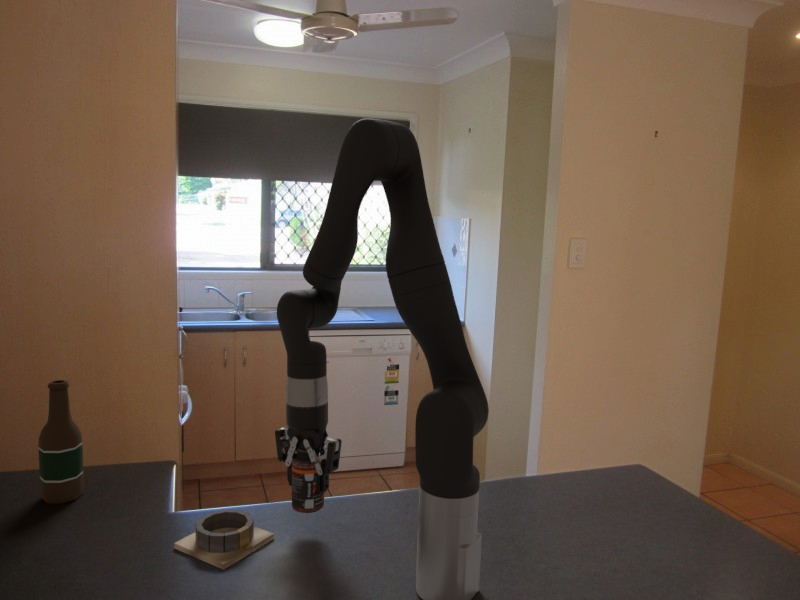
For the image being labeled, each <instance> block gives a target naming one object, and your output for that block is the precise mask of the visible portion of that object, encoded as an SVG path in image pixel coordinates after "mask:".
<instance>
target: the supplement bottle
mask: <svg viewBox="0 0 800 600" xmlns="http://www.w3.org/2000/svg"><path fill="white" fill-rule="evenodd" d="M316 456H317V457H318V456H320V452H319V453H318V454H316ZM321 464H322V462H321ZM322 467H323V465H322ZM317 474H318V473H317V471H316V468H315V465H314V464H313V463H312V462H311V460H310V457H309V454H308V451H306V450H302V449H297V458H295V459H294V460H293V461H292V486H291V507H292V510H294V511H295V512H298V513H302V514H312V513H315V512H316V513H317V512H318V511H320V510H321V509H323V507H324V505H325V493H323V494H317Z"/></svg>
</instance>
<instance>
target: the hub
mask: <svg viewBox="0 0 800 600" xmlns="http://www.w3.org/2000/svg"><path fill="white" fill-rule="evenodd" d="M254 523H255V519H254V517H253V516H252V515H251V513H248V512H247V511H244V510H241V509H240V510H239V509H222V510H217V511H212V512H210V513H207V514H205V515H203V516H201V517H200V518H199V519H198V521H196V524H195V531H194V532H193V533H191V534H189V535H187V536H185V537H183V538H181V539H179V540H178V541H175V542H174V543H173V545H174V546H173V548H174V549H175V550H177V551H179V552H180V553H181V552H182V553H183V554H186V555H189V556H190V557H193V558H196V559H197V560H199V561H202V562H203V563H204V562H205V563H207V564H209V565H212V566H214V567H216V568H218V569H221V570H223V571H224V570H226V569H227V568H229V567H231V566H232V565H234V564H235V563H237V562H239V561H241V560H242V559H243V558H244V559H245V557H247V556H248V554H249V553H250V554H252V553H254V552H255V551H257V550H258V549H260V548H262V547H263V546H265V545H266V544H269V543H270V542H272V541H273V540H274V539H275V535H274V534H275V533H273V532H270V531H267V530H265V529H263V528H259V527H257V526H255V525H254ZM269 541H270V542H269ZM264 544H265V545H264ZM261 546H262V547H261ZM256 549H257V550H256ZM251 552H252V553H251ZM250 554H249V555H250ZM246 555H247V556H246Z"/></svg>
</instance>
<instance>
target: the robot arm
mask: <svg viewBox="0 0 800 600" xmlns="http://www.w3.org/2000/svg"><path fill="white" fill-rule="evenodd" d="M422 163H423V162H422V157H421V152H420V148H419V145H418V141H417V139H416V137H415V134H414V133H413V132H412V130H411V129H410V128H408V127H407V126H406V125H405V124H403V123H400V122H396V121H392V120H386V119H385V120H384V119H378V118H370V117H369V118H368V117H367V118H361V119H359V120H357V121H355V122H354V123H353V124H352V125H351V126H350V127H349V129H348V130H347V132H346V134H345V136H344V138H343V141H342V144H341V147H340V151H339V154H338V158H337V162H336V166H335V171H334V175H333V179H332V183H331V186H330V190H329V194H328V199H327V203H326V207H325V211H324V214H323V218H322V221H321V224H320V227H319V230H318V232H317V233H316V237H315V239H314V241H313V244H312V245H311V248H310V250H309V253H308V255H307V258H306V260H305V262H304V265H303V269H302V276H303V278H304V280H305V281H306V282H307V283H308V284H309V285H311V286H312V287H311V288H309V289H296V290H289V291H287V292H284V293H283V294H282V296H280V298H279V300H278V302H277V305H276V318H277V322H278V327H279V329H280V332H281V336H282V341H283V344H284V347H285V351H286V356H287V357H286V374H287V376H286V377H287V378H286V386H285V417H286V419H285V421H286V425H287V426H283V427H280V428H278V429H275V431H274V437H275V438H274V439H275V444H276V446H275V447H276V455H277V460H278V462H280V463H281V462H284V464H285V467H286V468H287V469H286V471H287V472H286V473H287V476H286V478H287V482H288V486H290V487H292V461H293V460H294V459H295V458H297V449H302V450H306V451H308V454H309V457H310V460H311V462H312V463H313V464H314V465H315V468H316V471H317V473H318V474H317V494H323V493H324V494H325V493H326V492H327V491H328V490H329V488H330V474H331V473H333V472H335V471H337V470H339V466H340V458H341V450H342V442H343V441H342V439H341V438H336V439H334V438H332V437H330V436H329V435H328V432H327V426H328V423H329V384H328V376H327V375H328V374H327V373H328V371H327V370H328V369H327V365H328V364H327V363H328V362H327V361H328V360H327V356H328V355H327V347H326V345H325V344H324V343H322V342H320V341H316V340H311V339H310V337H309V334H308V330H310V329H317V328H318V329H319V328H321V327H322V328H323V327H325V326H327V325H328V324H329V323H331V321H332V320H333V319H334V318H335V316H336V315H337V311H338V308H339V302H340V295H341V289H342V281H343V280H344V277H345V276H346V273H347V272H348V269H349V267H350V265H351V263H352V261H353V259H354V256H355V253H356V251H357V246H358V240H359V239H358V238H359V231H358V229H359V227H358V226H359V224H358V221H359V220H358V218H359V212H360V211H359V210H360V208H361V204H362V202H363V200H364V197H365V196H366V194H367V193H368V190H369V189H370V187H371V186H372V184H373V183H374V182H378V181H379V182H380V183H381V185H382V187H383V191H384V194H385V196H386V201H387V204H388V210H389V215H390V224H389V225H390V226H389V233H388V239H387V246H386V253H385V272H386V276H387V279H388V283H389V288H390V292H391V295H392V298H393V302H394V305H395V308H396V310H397V312H398V314H399V316H400V318H401V320H402V321H403V323H404V325H405V326H406V328H407V329H408V330H409V332H410V333H411V335H412V337H414V339H415V341H416V342H417V344H418V346H420V349H421V351H422V352H423V354H424V358H425V360H426V362H427V366H428V367H427V368H428V371H429V374H430V379H431V384H432V388H433V389H432V390H431V391H429V392H427V394H425V395H424V396H423V397H422V398H421V400H420V402H419V404H418V406H417V410H416V416H415V423H414V424H415V429H414V430H415V431H414V436H415V438H414V439H415V440H414V441H415V442H414V443H415V445H414V446H415V452H414V453H415V458H414V459H415V467H416V470H417V472H418V475H419V488H418V489H419V491H418V511H417V512H418V513H417V515H418V516H417V538H416V539H417V541H416V545H417V546H416V547H417V548H416V571H415V572H416V573H415V592H416V594H417V595H418V597H419V598H420V599H422V600H472V599H473V598H474V597H475V596H476V594H477V593H478V592H479V590H480V577H481V575H480V574H481V561H482V560H481V558H482V557H481V556H482V541H483V540H482V538H483V537H482V536H483V535H482V533H481V532H479V531H478V518H479V516H478V515H479V500H480V499H479V498H480V497H479V496H480V481H481V480H480V479H481V478H480V474H481V473H480V470H479V469H478V467H477V466H476V465H474V440H475V438H474V437H476V435H478V434H479V433H480V432H481V431H482V430H483V429H484V427H485V426H486V424H487V422H488V417H489V414H490V413H489V412H490V411H489V401H488V398H487V395H486V393H485V389H484V388H483V385H482V382H481V380H480V377H479V373H478V372H477V370H476V367H475V364H474V362H473V360H472V357H471V354H470V351H469V348H468V345H467V342H466V337H465V334H464V331H463V329H464V328H463V325H462V323H461V322H462V321H461V318H460V315H459V311H458V307H457V304H456V300H455V296H454V295H455V294H454V292H453V291H454V290H453V287H452V282H451V280H450V277H449V272H448V269H447V264H446V261H445V258H444V255H443V252H442V248H441V246H440V242H439V238H438V234H437V230H436V226H435V222H434V218H433V214H432V210H431V207H430V203H429V198H428V192H427V189H426V180H425V176H424V175H425V174H424V169H423V164H422ZM318 453H319V456H318V457H317V456H316V454H318ZM321 462H322V464H321ZM322 465H323V467H322Z"/></svg>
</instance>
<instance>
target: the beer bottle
mask: <svg viewBox="0 0 800 600" xmlns="http://www.w3.org/2000/svg"><path fill="white" fill-rule="evenodd" d="M69 387H70V384H69V381H68V380H64V379H56V380H53V381H50V382H48V384H47V389H48V390H49V391H48V392H49V394H48V415H47V422H46V423H45V425H43V428H42V429H41V432H40V434H39V436H38V466H39V467H38V469H39V470H38V472H39V490H40V491H39V492H40V498H41V499H42V500H43V502H44V503H46V504H47V505H49V504H51V505H53V504H54V505H55V504H56V505H57V504H58V505H59V504H61V505H62V504H65V503H69V502H72V501H76V500H77V499H78V498H79V497H81V495H83V493H84V491H85V490H84V488H85V487H84V485H85V480H84V478H85V477H84V456H83V455H84V453H83V451H84V449H83V448H84V447H83V437H82V432H81V430H80V428H79V426H78V425H77V424H76V422H75V421H74V420H73V419H72V414H71V409H70V408H71V407H70V406H71V405H70V399H69V389H68V388H69Z"/></svg>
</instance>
